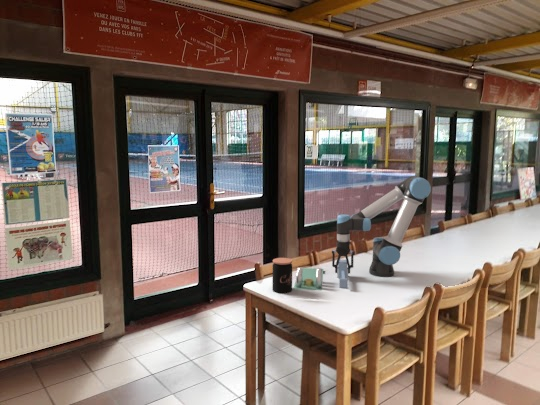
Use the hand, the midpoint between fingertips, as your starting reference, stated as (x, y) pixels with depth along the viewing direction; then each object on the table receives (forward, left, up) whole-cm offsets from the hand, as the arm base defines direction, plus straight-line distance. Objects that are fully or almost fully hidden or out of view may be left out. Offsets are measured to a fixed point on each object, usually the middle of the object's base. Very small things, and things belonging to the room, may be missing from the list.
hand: (342, 278), depth 250 cm
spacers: (+19, +17, +1) cm, 25 cm away
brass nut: (+19, +18, +1) cm, 26 cm away
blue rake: (0, +6, 0) cm, 6 cm away
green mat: (+20, +5, -1) cm, 20 cm away
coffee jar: (+33, +28, -1) cm, 44 cm away
